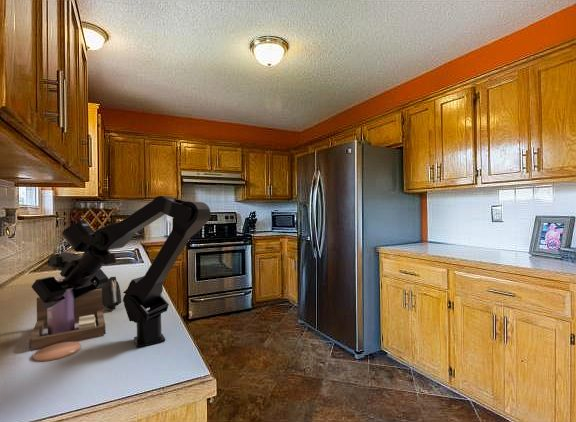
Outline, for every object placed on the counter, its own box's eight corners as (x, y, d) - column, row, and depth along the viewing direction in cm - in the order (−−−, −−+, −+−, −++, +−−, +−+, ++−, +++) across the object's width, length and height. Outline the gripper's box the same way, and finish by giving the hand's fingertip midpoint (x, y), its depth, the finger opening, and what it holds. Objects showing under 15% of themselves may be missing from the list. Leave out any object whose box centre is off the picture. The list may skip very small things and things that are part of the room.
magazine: (90, 273, 127) (106, 258, 106) (99, 271, 129) (117, 257, 108) (93, 315, 123) (111, 309, 102) (103, 313, 126) (122, 307, 104)
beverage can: (78, 332, 86) (77, 277, 86) (53, 339, 81) (52, 282, 81) (68, 328, 89) (67, 275, 89) (43, 335, 84) (42, 279, 84)
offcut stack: (96, 335, 84) (96, 322, 84) (78, 339, 81) (78, 325, 81) (95, 325, 92) (95, 312, 92) (79, 328, 90) (79, 315, 90)
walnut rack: (105, 335, 83) (105, 301, 83) (28, 351, 74) (27, 313, 74) (102, 316, 98) (101, 288, 98) (37, 328, 90) (37, 297, 90)
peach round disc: (80, 353, 72) (80, 351, 72) (30, 365, 67) (30, 362, 67) (81, 341, 80) (81, 338, 80) (36, 350, 75) (36, 347, 75)
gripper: (99, 239, 93) (69, 275, 96) (36, 246, 75) (2, 291, 77) (122, 266, 92) (91, 302, 94) (64, 280, 73) (27, 324, 76)
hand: (56, 303), depth 85 cm, fingers closed on beverage can, 6 cm apart
